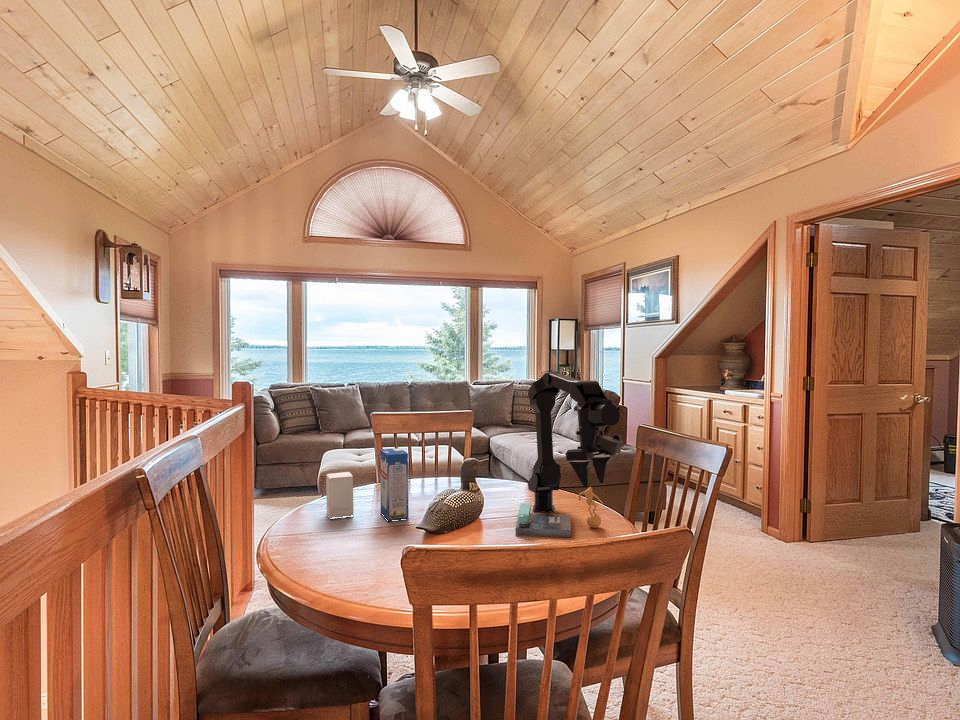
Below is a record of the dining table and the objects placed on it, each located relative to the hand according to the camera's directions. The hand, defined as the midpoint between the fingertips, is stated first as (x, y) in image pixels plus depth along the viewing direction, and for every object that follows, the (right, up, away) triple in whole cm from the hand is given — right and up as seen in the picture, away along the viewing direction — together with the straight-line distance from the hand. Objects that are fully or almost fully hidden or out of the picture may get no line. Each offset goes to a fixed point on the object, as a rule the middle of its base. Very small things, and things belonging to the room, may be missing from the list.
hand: (594, 485), depth 145 cm
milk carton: (-57, -14, +20) cm, 62 cm away
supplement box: (-74, -15, +21) cm, 78 cm away
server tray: (-13, -14, +8) cm, 21 cm away
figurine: (+1, -14, +8) cm, 16 cm away
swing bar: (-18, -11, +9) cm, 23 cm away
